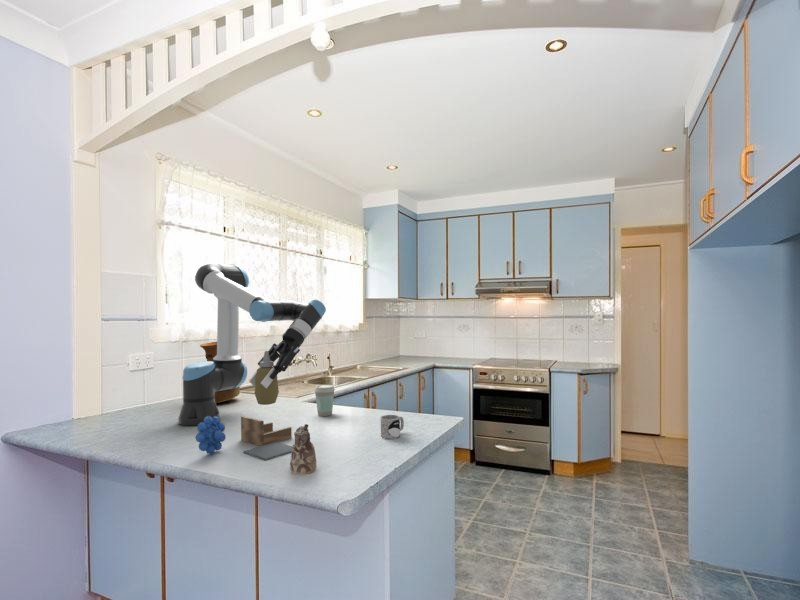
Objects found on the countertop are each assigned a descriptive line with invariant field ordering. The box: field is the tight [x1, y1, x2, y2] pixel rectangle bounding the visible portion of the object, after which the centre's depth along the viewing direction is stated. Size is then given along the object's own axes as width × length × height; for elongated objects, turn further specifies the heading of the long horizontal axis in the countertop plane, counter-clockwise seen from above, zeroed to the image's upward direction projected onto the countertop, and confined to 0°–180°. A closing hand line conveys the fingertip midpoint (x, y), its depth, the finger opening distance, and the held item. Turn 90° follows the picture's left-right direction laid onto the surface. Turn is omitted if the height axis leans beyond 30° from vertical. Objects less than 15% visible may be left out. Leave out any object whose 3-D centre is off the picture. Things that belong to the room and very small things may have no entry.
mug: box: [380, 414, 405, 440], centre depth 152 cm, size 10×7×7 cm, turn 137°
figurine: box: [289, 423, 317, 475], centre depth 121 cm, size 7×7×12 cm
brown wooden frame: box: [240, 415, 293, 447], centre depth 151 cm, size 12×12×8 cm
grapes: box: [194, 416, 227, 455], centre depth 135 cm, size 12×7×12 cm, turn 160°
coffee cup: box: [314, 384, 336, 417], centre depth 184 cm, size 8×8×12 cm
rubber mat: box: [242, 441, 293, 461], centre depth 137 cm, size 12×12×1 cm
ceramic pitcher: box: [199, 341, 241, 404], centre depth 215 cm, size 20×20×30 cm
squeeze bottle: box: [254, 350, 280, 406], centre depth 151 cm, size 8×8×18 cm
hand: (257, 384), depth 148 cm, fingers closed on squeeze bottle, 6 cm apart
